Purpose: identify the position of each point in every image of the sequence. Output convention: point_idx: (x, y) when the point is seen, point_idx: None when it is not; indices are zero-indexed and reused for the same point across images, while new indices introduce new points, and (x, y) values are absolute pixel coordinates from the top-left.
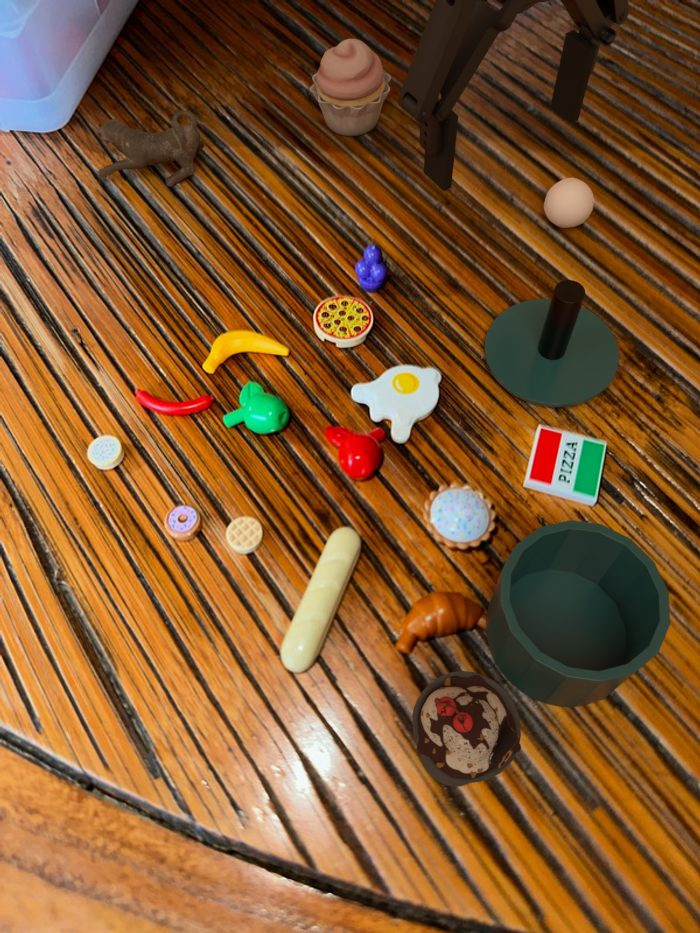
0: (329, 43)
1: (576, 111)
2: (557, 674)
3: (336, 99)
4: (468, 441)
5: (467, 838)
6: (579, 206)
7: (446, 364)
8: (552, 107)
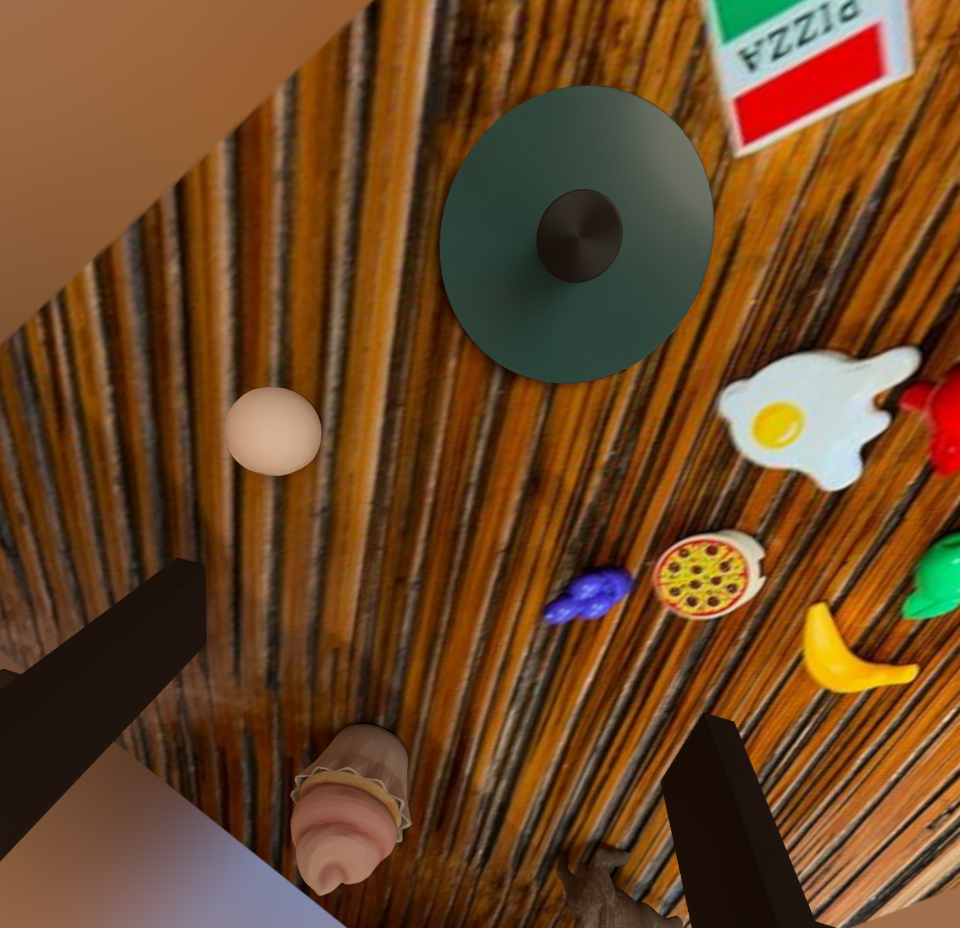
0: None
1: (164, 589)
2: None
3: (391, 812)
4: (850, 249)
5: None
6: (274, 409)
7: (697, 394)
8: (202, 640)
